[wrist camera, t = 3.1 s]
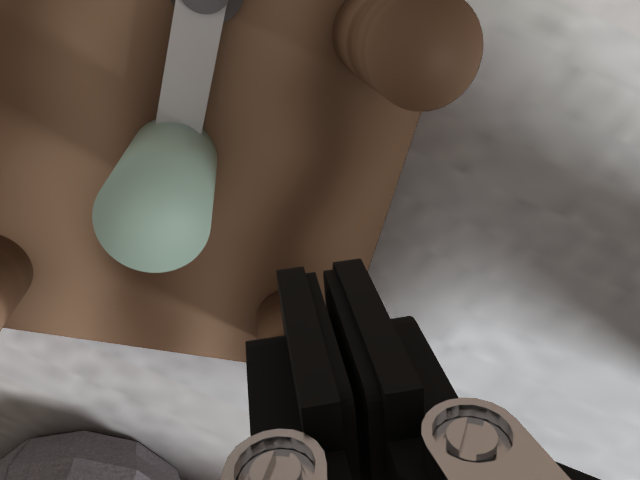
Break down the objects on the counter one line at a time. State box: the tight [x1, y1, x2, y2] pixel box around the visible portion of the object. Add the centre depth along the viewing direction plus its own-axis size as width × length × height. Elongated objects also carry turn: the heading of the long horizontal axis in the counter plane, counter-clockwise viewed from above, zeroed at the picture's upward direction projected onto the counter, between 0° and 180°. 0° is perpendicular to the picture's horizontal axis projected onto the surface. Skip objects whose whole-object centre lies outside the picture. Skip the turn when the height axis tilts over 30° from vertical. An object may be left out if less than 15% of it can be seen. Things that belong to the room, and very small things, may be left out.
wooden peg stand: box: [0, 0, 483, 362], centre depth 23 cm, size 20×20×10 cm
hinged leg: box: [92, 0, 229, 273], centre depth 20 cm, size 10×4×7 cm, turn 164°
